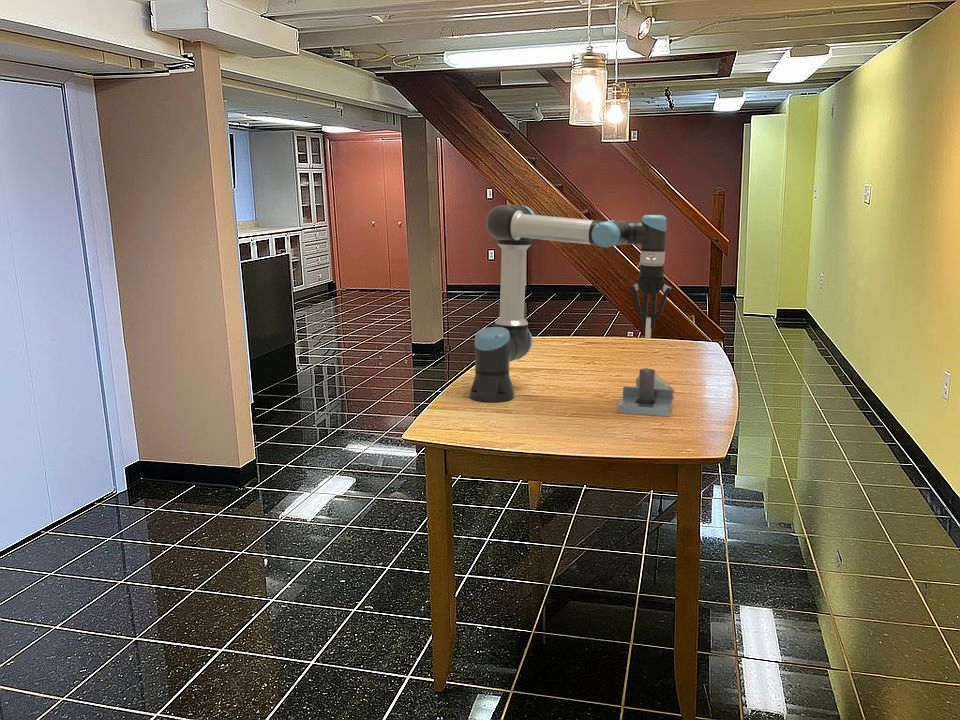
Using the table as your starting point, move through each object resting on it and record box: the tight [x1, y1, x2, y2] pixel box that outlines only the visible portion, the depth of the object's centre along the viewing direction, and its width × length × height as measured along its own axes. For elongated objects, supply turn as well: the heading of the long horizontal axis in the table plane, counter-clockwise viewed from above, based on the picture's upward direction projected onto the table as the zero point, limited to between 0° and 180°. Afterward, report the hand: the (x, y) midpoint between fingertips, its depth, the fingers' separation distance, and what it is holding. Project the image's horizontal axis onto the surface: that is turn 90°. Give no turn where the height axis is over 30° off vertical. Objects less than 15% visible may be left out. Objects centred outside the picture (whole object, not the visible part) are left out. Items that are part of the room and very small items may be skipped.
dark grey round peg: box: [638, 367, 656, 404], centre depth 261 cm, size 5×5×13 cm
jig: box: [617, 385, 674, 418], centre depth 262 cm, size 16×14×6 cm
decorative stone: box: [635, 367, 675, 394], centre depth 279 cm, size 13×11×10 cm
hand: (647, 337), depth 261 cm, fingers closed
